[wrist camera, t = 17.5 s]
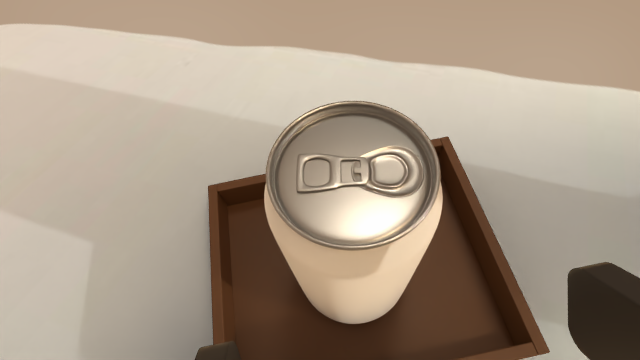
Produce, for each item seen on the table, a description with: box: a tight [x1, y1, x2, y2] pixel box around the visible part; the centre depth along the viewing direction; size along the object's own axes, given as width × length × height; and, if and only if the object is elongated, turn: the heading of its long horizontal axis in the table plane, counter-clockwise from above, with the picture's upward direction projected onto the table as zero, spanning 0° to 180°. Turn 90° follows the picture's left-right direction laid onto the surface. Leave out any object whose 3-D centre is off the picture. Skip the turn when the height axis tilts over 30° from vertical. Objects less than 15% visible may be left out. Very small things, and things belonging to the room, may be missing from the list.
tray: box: [208, 137, 550, 360], centre depth 21 cm, size 16×13×3 cm
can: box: [264, 101, 443, 324], centre depth 17 cm, size 6×6×12 cm
